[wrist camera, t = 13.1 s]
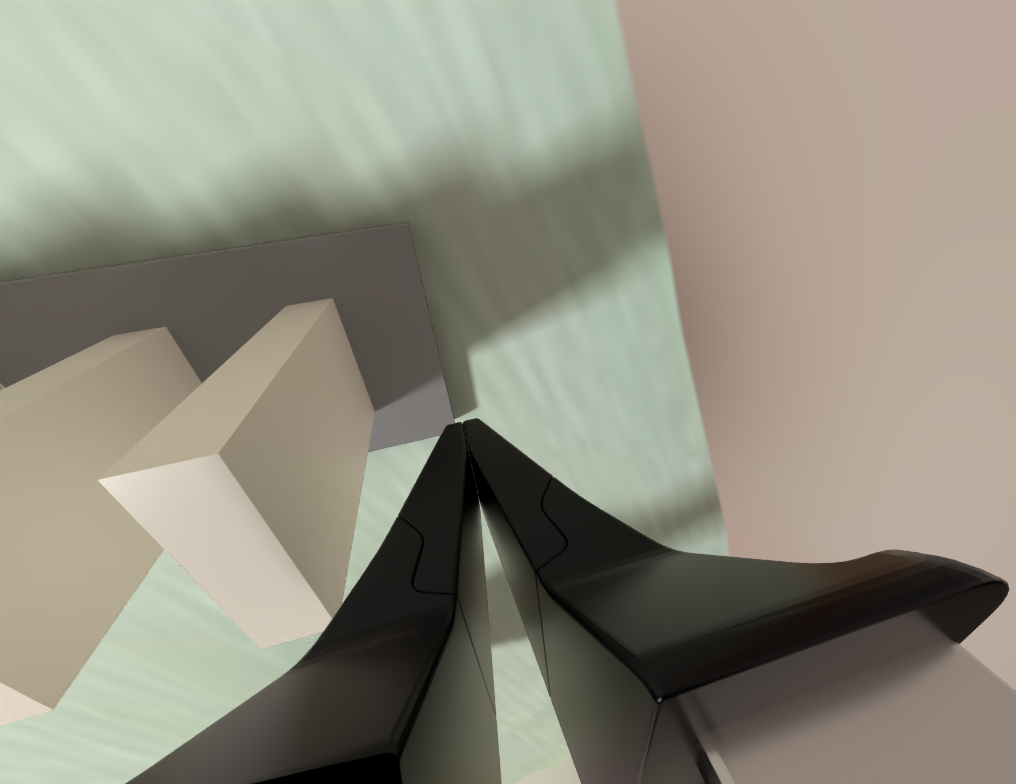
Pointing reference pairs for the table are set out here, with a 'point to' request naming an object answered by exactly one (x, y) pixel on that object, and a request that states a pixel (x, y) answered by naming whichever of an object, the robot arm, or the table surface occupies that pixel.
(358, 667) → the robot arm
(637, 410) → the table surface
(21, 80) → the table surface
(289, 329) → the domino
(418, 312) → the board
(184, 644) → the table surface
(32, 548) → the domino
